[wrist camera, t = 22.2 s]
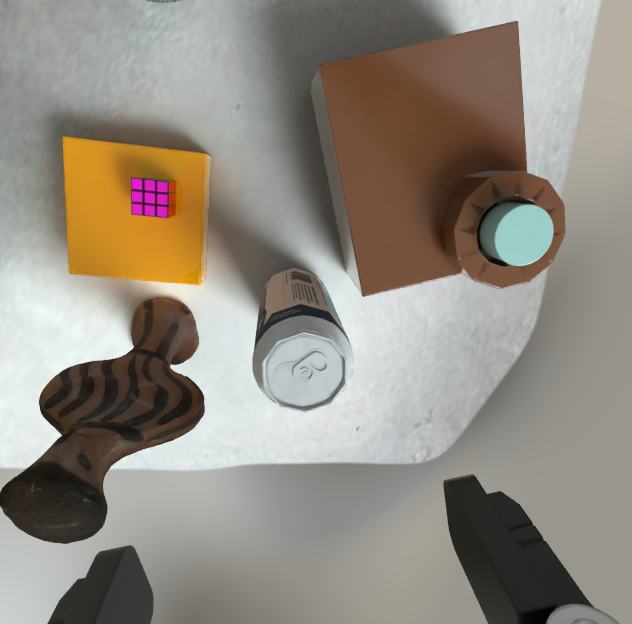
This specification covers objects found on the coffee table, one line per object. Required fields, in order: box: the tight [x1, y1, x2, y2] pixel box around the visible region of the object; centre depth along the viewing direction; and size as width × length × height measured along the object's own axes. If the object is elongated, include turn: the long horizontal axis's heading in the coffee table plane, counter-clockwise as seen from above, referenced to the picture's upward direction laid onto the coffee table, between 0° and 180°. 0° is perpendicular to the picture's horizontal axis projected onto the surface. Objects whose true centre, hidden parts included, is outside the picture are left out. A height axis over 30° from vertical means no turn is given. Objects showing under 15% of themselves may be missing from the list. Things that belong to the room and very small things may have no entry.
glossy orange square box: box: [62, 136, 211, 285], centre depth 27 cm, size 8×8×4 cm
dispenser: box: [310, 21, 565, 297], centre depth 26 cm, size 13×11×8 cm
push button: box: [479, 202, 554, 266], centre depth 22 cm, size 3×3×2 cm
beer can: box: [253, 268, 354, 412], centre depth 26 cm, size 5×5×12 cm
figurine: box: [0, 298, 205, 544], centre depth 23 cm, size 7×5×18 cm
